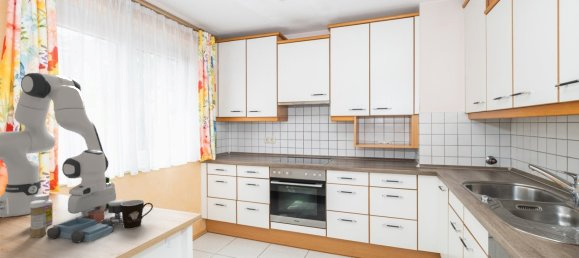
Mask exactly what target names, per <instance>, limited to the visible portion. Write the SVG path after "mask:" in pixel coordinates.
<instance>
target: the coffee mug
mask: <svg viewBox="0 0 579 258" xmlns="http://www.w3.org/2000/svg"><path fill="white" fill-rule="evenodd" d="M147 205H150V206H151V208H150V209H149V210H148V211H147V212H146V213H144V214H143V211H144V209H145V207H146V206H147ZM153 208H154V205H153V204H152V203H151V202H146V203H145V201H144V200H143V199H132V200H131V199H130V200H126V201H125V202H123V203H121V210H122V212H121V215H122V217H123V223H122V224H123V228H124V229H125V230H131V229H136V228H138V227H141V225H142V220H143V218H144V217H145V216H147V215H148V214H149V213H150V212H151V211H152V210H153Z"/></svg>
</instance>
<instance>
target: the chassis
mask: <svg viewBox="0 0 579 258" xmlns="http://www.w3.org/2000/svg"><path fill="white" fill-rule="evenodd" d="M113 226H114V225H113V222H112V220H110V218H108V219H104V220H102V221H101V223H96V220H93V219H90V218H89V217H88V216H85V217H83V216H82V217H74V218H72V219H69V220H66V221H63V222H60V223H56V224H54V225H53V226H52V227H50V228H48V229H47V231H46V236H47V237H48V239H51V240H53V239H55V238H63V239H69V240H71V241H72V242H73V243H75V244H77V243H79V242H81V241H82V242H87V243H89V242H92V241H94V240H97V239H98V238H101V237H103V236H106V235H109V234H110V233H113V232H114V231H113V229H114V227H113Z"/></svg>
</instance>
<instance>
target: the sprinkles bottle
mask: <svg viewBox="0 0 579 258" xmlns="http://www.w3.org/2000/svg"><path fill="white" fill-rule="evenodd" d="M45 207H46V201H45V200H37V201H33V202H31V203H30V208H31V213H30V237H31V238H34V239H35V238H41V237H44V236H45V235H47V231H46V229H47V226H46V210H45Z"/></svg>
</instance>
